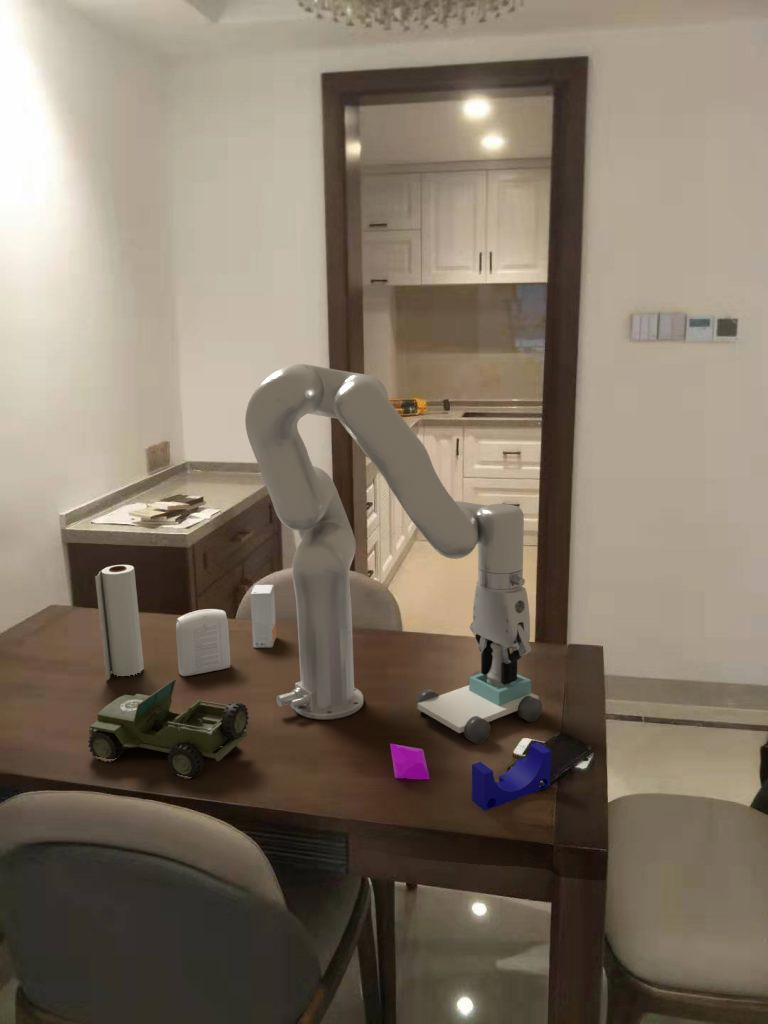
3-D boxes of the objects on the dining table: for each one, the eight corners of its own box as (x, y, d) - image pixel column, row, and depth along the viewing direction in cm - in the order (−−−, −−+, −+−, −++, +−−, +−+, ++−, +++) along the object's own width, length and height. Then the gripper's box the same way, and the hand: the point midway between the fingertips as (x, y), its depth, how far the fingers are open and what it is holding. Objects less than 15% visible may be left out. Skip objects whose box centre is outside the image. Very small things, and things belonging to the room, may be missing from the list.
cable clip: (530, 773, 133) (531, 737, 132) (550, 787, 129) (551, 750, 128) (465, 797, 127) (465, 760, 126) (484, 812, 124) (484, 774, 122)
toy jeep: (130, 725, 151) (124, 666, 149) (257, 749, 142) (253, 687, 140) (83, 759, 140) (75, 697, 138) (217, 788, 131) (212, 721, 129)
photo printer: (227, 660, 177) (223, 602, 174) (233, 668, 173) (229, 609, 170) (176, 671, 173) (171, 612, 170) (182, 679, 169) (176, 618, 166)
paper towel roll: (142, 663, 177) (133, 562, 171) (144, 675, 171) (134, 570, 166) (105, 668, 174) (94, 566, 169) (106, 681, 169) (94, 575, 164)
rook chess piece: (511, 689, 151) (512, 646, 149) (485, 687, 151) (485, 644, 149) (512, 678, 155) (513, 636, 153) (487, 677, 156) (488, 634, 154)
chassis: (466, 748, 140) (466, 717, 139) (411, 715, 152) (410, 686, 151) (546, 716, 151) (546, 686, 149) (488, 687, 162) (488, 659, 161)
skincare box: (273, 647, 183) (270, 593, 180) (252, 648, 183) (249, 593, 180) (277, 636, 189) (274, 584, 186) (257, 637, 189) (254, 584, 186)
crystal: (397, 786, 130) (397, 758, 129) (388, 768, 135) (388, 741, 134) (431, 781, 132) (430, 753, 130) (420, 763, 137) (420, 736, 136)
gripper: (552, 585, 144) (549, 688, 148) (483, 561, 157) (482, 656, 162) (519, 594, 140) (517, 700, 144) (451, 569, 153) (451, 667, 157)
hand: (498, 676), depth 153 cm, fingers closed on rook chess piece, 4 cm apart
